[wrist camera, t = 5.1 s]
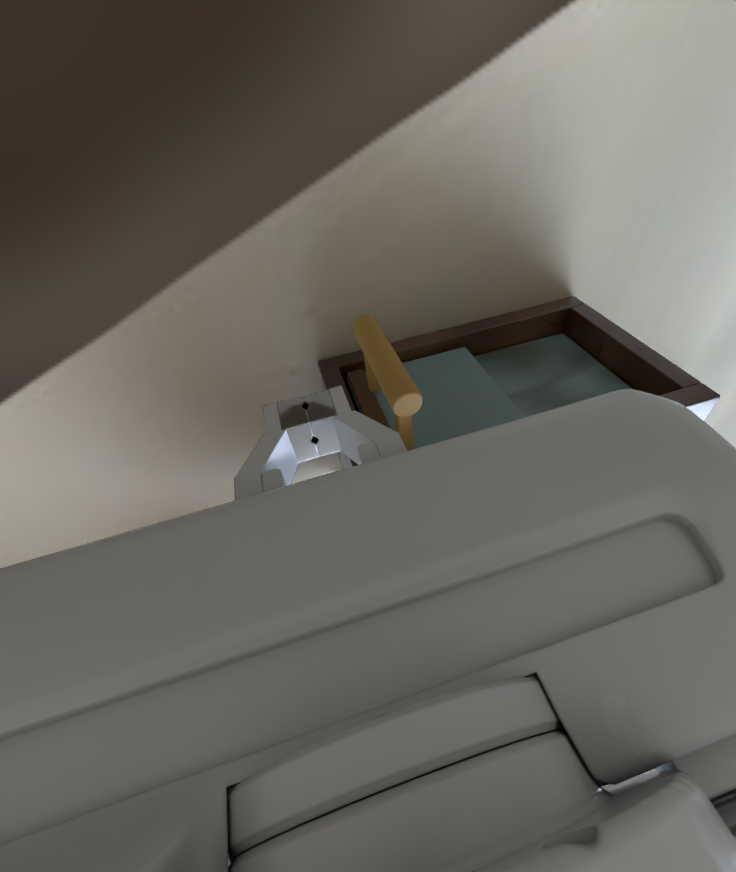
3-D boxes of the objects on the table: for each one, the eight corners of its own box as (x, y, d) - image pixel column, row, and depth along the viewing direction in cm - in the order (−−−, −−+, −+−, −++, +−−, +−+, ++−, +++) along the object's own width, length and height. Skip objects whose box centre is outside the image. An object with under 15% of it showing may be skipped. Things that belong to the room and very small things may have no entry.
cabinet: (574, 295, 24) (721, 395, 17) (540, 416, 31) (634, 521, 24) (316, 361, 22) (364, 502, 15) (343, 473, 29) (384, 604, 22)
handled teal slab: (470, 275, 20) (561, 354, 14) (464, 352, 23) (537, 439, 18) (333, 308, 19) (379, 404, 14) (347, 382, 22) (388, 483, 17)
